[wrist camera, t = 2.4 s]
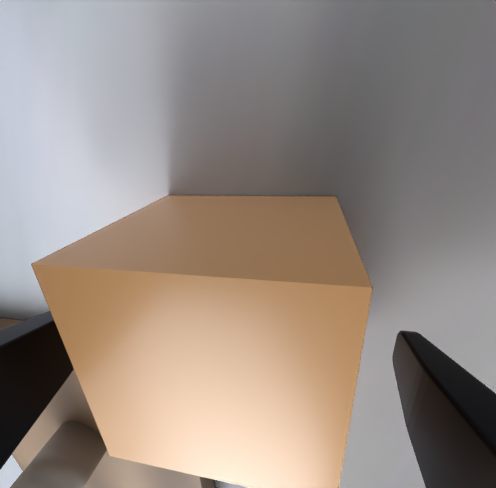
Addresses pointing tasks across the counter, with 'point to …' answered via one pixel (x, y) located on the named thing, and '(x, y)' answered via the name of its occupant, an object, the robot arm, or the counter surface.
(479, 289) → the counter surface
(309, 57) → the counter surface
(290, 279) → the peach wooden cube
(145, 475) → the post board
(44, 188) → the counter surface
